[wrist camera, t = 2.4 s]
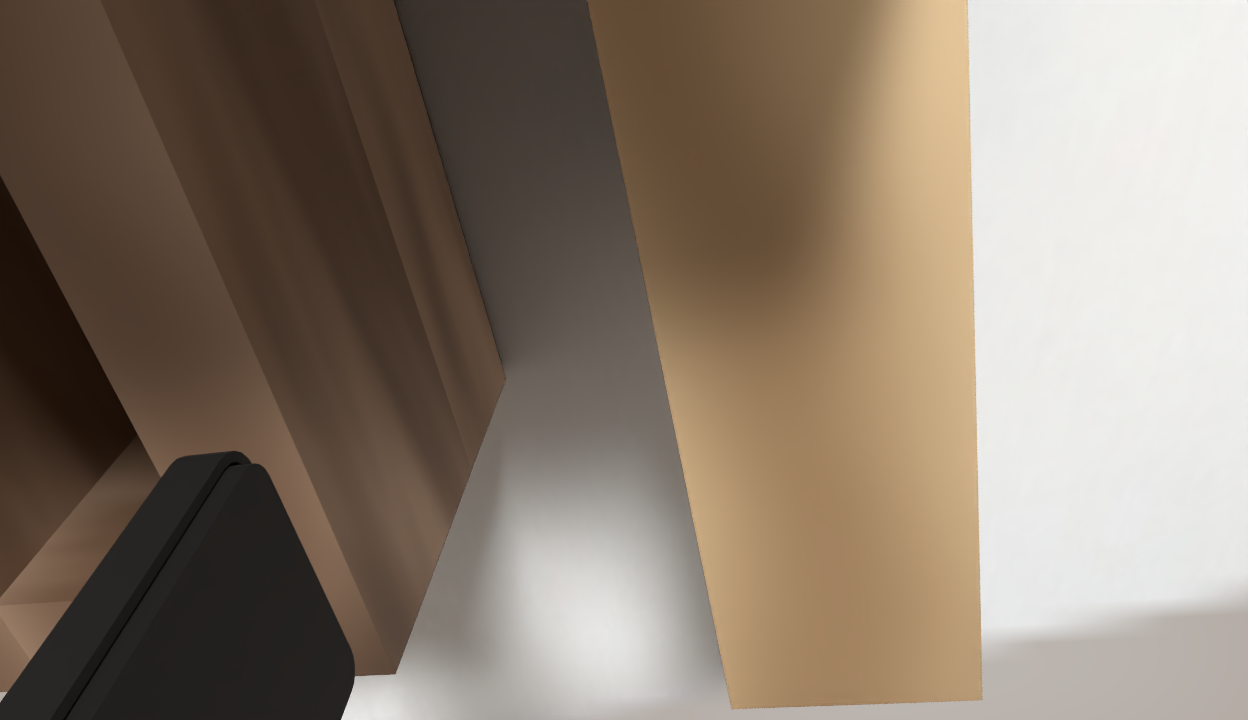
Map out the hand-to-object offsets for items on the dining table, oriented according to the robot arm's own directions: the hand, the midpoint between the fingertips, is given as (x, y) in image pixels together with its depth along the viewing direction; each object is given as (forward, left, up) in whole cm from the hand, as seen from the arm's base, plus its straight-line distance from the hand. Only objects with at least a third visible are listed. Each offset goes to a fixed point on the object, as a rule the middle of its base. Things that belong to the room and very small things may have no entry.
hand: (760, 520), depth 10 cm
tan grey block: (-1, 0, -13) cm, 13 cm away
